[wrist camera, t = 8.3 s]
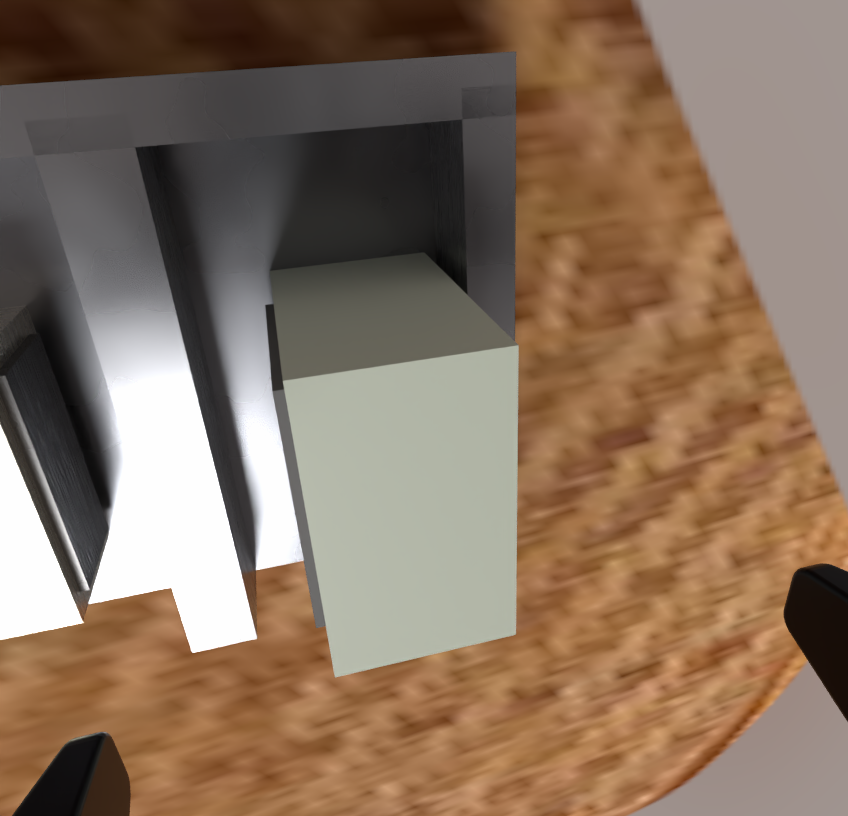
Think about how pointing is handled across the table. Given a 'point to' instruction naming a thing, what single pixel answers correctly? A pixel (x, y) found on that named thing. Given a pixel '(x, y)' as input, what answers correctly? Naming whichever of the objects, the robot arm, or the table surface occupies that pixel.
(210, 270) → the gray compartment tray
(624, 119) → the table surface
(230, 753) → the table surface
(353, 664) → the pale sage upright block
